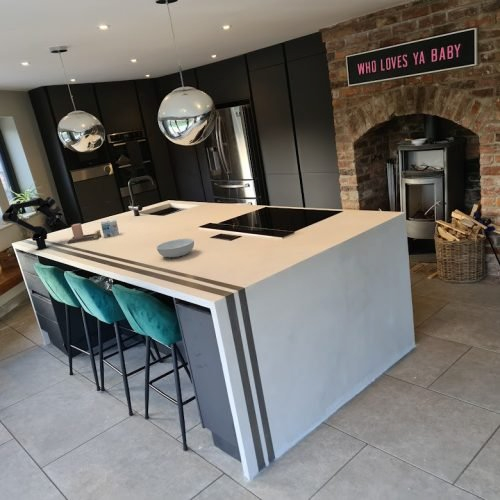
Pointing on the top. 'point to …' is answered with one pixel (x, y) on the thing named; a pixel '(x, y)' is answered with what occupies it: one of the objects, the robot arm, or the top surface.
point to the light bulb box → (110, 228)
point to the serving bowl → (175, 247)
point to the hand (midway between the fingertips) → (66, 225)
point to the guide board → (86, 238)
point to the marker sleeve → (77, 231)
